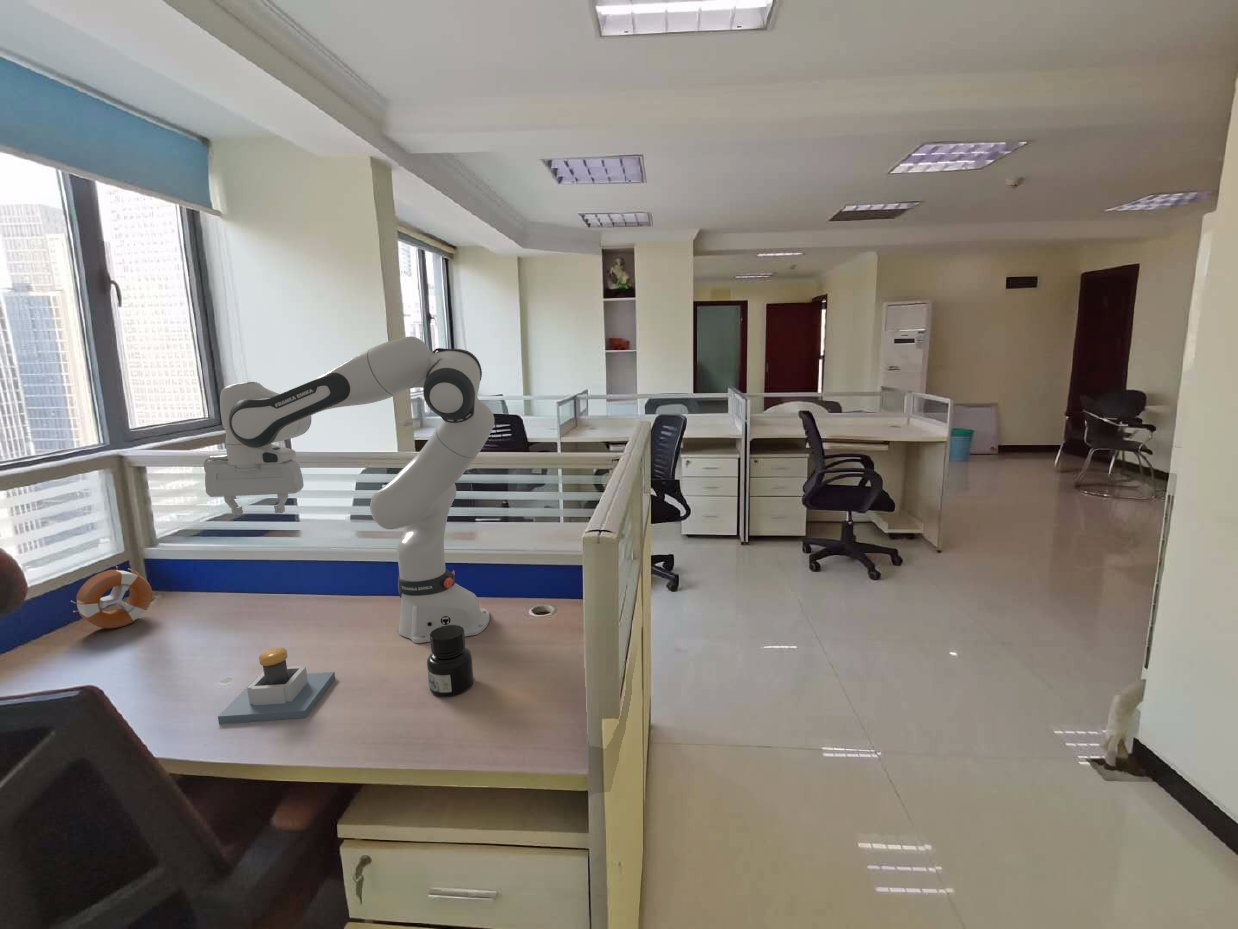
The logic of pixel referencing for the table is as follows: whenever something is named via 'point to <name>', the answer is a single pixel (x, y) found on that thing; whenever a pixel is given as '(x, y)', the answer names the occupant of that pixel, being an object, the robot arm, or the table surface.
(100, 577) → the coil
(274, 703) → the mount
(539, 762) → the table surface
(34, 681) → the table surface
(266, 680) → the knob
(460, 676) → the ink bottle
